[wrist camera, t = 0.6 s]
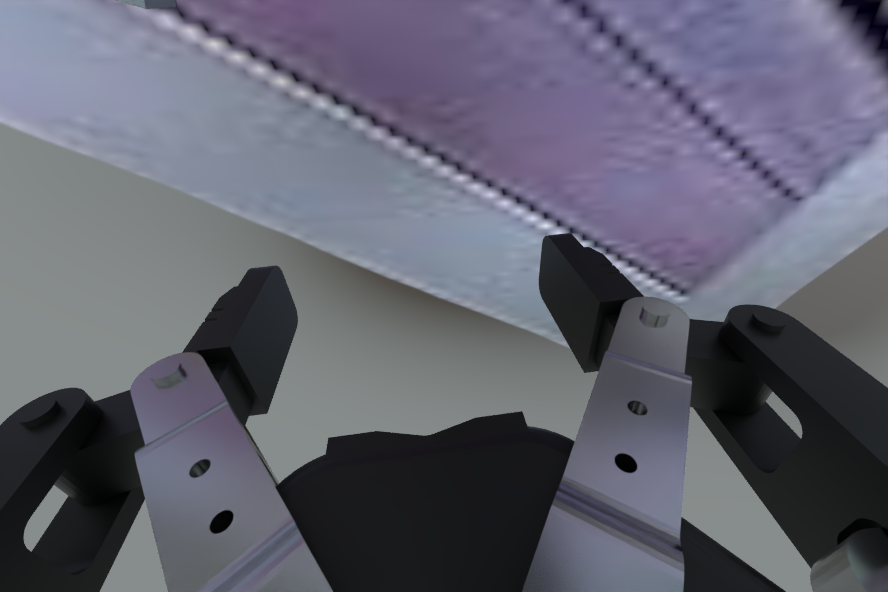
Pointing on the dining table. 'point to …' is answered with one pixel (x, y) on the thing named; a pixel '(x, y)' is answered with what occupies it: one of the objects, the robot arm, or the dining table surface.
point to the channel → (151, 3)
